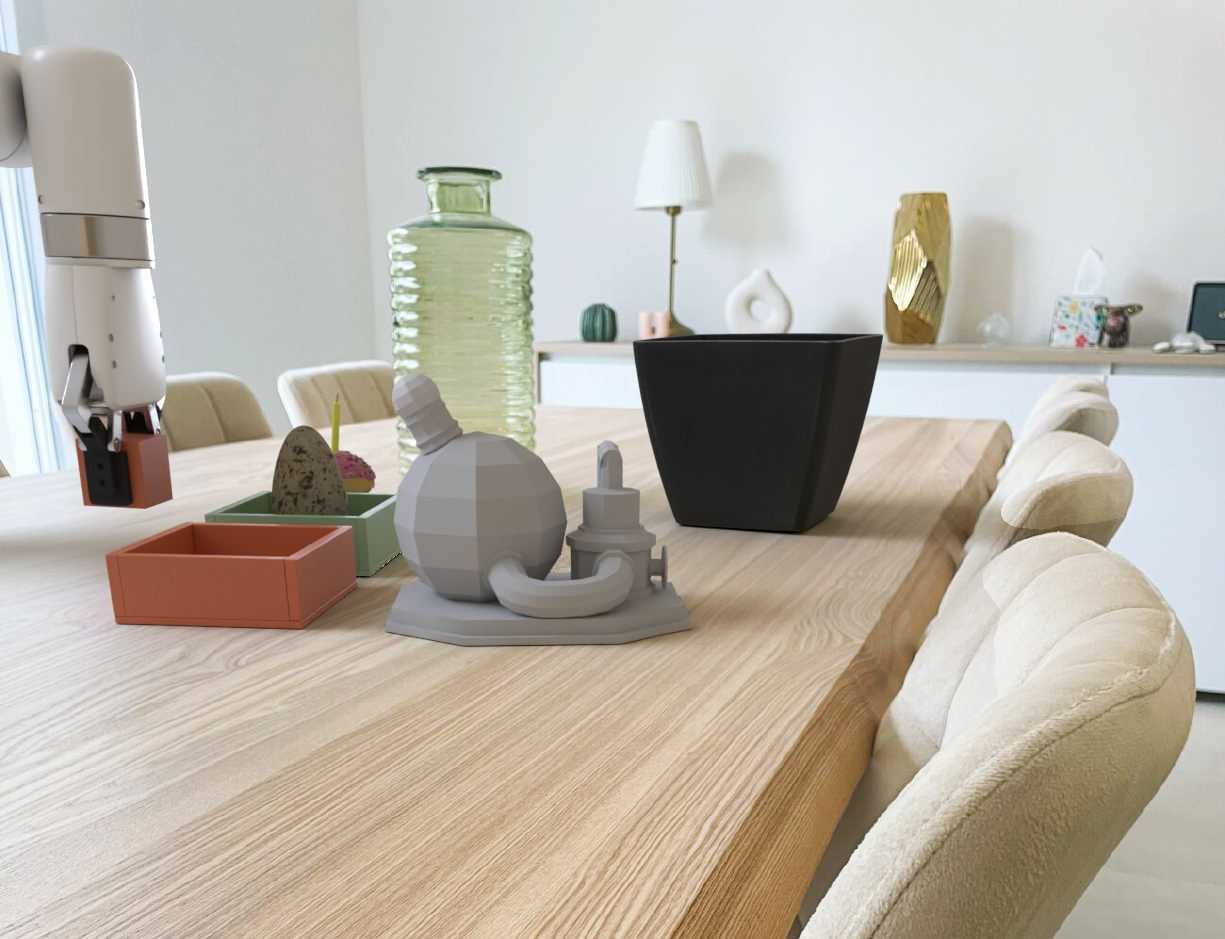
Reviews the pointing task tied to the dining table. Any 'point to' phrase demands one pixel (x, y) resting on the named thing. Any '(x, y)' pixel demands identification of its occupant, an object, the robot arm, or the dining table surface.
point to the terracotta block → (139, 470)
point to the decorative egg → (308, 477)
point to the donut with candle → (350, 461)
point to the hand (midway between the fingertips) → (128, 496)
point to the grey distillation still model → (518, 543)
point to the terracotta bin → (232, 575)
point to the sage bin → (331, 523)
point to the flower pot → (755, 423)
